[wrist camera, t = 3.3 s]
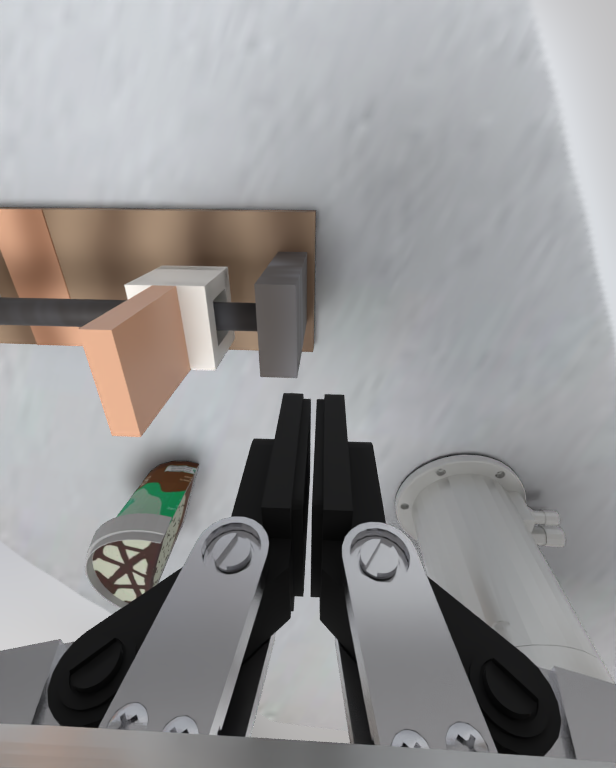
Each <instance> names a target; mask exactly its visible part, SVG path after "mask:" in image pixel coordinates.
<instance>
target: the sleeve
mask: <svg viewBox="0 0 616 768" xmlns="http://www.w3.org/2000/svg"><path fill="white" fill-rule="evenodd" d="M124 286H125V290H126V294H127V299H128V300H126V301H125V302H123V303H121V304H120V305H118V306H116V307H115V308H113V309H111V310H109V311H108V312H106V313H104V314H103V315H101V316H99V317H98V318H96V319H94V320H93V321H91V322H89V323H87V324H86V325H84V326H82V327H81V328H79V329H78V332H79V335H80V338H81V341H82V344H83V347H84V350H85V353H86V357H87V360H88V363H89V366H90V369H91V372H92V375H93V378H94V381H95V384H96V387H97V391H98V394H99V397H100V400H101V403H102V406H103V409H104V412H105V415H106V418H107V421H108V425H109V428H110V431H111V434H112V436H131V437H141V436H142V435H143V433H144V432H145V431H146V429H147V428H148V427H149V425H150V424H151V423H152V421H153V420H154V418H155V417H156V416H157V414H158V413H159V412H160V410H161V409H162V408H163V406H164V405H165V404H166V402H167V401H168V400H169V398H170V397H171V395H172V394H173V393H174V391H175V390H176V389H177V387H178V386H179V385H180V383H181V382H182V381H183V379H184V378H185V377H186V375H187V374H188V373H189V371H190V370H216V369H217V367H218V366H219V364H220V362H221V361H222V359H223V358H224V356H225V354H226V353H227V351H228V349H229V348H230V346H231V344H232V343H233V341H234V339H235V334H234V331H221V330H216V323H215V315H214V307H213V302H231V294H230V284H229V274H228V267H216V266H160V267H158V268H156V269H154V270H152V271H150V272H148V273H146V274H145V275H143V276H141V277H139V278H137V279H135V280H133V281H131V282H129V283H127V284H125V285H124Z"/></svg>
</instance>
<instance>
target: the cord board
mask: <svg viewBox="0 0 616 768" xmlns="http://www.w3.org/2000/svg"><path fill="white" fill-rule="evenodd" d="M315 228H316V210H220V209H118V208H17V207H0V343H12V344H37V345H65V346H83V344H82V341H81V338H80V335H79V332H78V329H79V328H81V327H82V326H84V325H86V324H87V323H89V322H91V321H93V320H94V319H96V318H98V317H99V316H101V315H103V314H104V313H106V312H108V311H109V310H111V309H113V308H115V307H116V306H118V305H120V304H121V303H123V302H125V301H126V300H128V299H127V294H126V290H125V286H124V285H125V284H127V283H129V282H131V281H133V280H135V279H137V278H139V277H141V276H143V275H145V274H146V273H148V272H150V271H152V270H154V269H156V268H158V267H160V266H216V267H228V274H229V284H230V294H231V302H213V307H214V315H215V323H216V330H221V331H234V334H235V339H234V341H233V343H232V344H231V346H230V348H229V349H228V350H259V363H260V377H282V378H297V376H298V370H299V364H300V358H301V353H302V352H313V348H314V299H315Z"/></svg>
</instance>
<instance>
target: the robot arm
mask: <svg viewBox="0 0 616 768" xmlns="http://www.w3.org/2000/svg"><path fill="white" fill-rule="evenodd" d="M310 429H311V399H304V397H303V394H295V393H284V394H283V399H282V404H281V409H280V414H279V419H278V424H277V430H276V435H275V439H253V441H252V444H251V447H250V451H249V455H248V458H247V462H246V465H245V469H244V473H243V476H242V480H241V483H240V487H239V491H238V494H237V498H236V501H235V505H234V509H233V512H232V516H231V517H229V518H224V519H221V520H219V521H217V522H215V523H213V524H212V525H210V526H209V527H208V528H207V529H206V530H204V531H203V533H202V534H201V535H200V537H199V538H198V540H197V541H196V543H195V545H194V547H193V549H192V551H191V552H190V554H189V556H188V558H187V560H186V562H185V564H184V566H183V567H182V568H181V569H179V570H178V571H176V572H175V573H173V574H172V575H170V576H169V577H167V578H166V579H164V580H163V581H161V582H160V583H158V584H157V585H155V586H154V587H152V588H151V589H149V590H148V591H146V592H145V593H143V594H142V595H140V596H139V597H137V598H136V599H134V600H133V601H132V602H130V603H129V604H127V605H126V606H124V607H123V608H121V609H120V610H118V611H117V612H115V613H114V614H112V615H111V616H109V617H108V618H106V619H105V620H103V621H102V622H100V623H99V624H97V625H96V626H95V627H93V628H91V629H90V630H88V631H87V632H86V633H85V634H83V635H82V636H81V637H80V638H78V639H77V640H76V641H75V642H71V643H65V644H64V643H63V642H62V640H61V639H59V640H53V641H49V642H44V643H38V644H33V645H28V646H23V647H18V648H13V649H8V650H3V651H0V768H616V684H615V682H614V681H613V679H612V677H611V675H610V674H609V672H608V670H607V668H606V667H605V665H604V663H603V661H602V660H601V658H600V656H599V654H598V653H597V651H596V649H595V647H594V645H593V644H592V642H591V640H590V638H589V636H588V635H587V633H586V631H585V629H584V628H583V626H582V624H581V622H580V620H579V619H578V617H577V615H576V613H575V612H574V610H573V608H572V606H571V604H570V603H569V601H568V599H567V597H566V596H565V594H564V592H563V590H562V588H561V587H560V585H559V583H558V581H557V580H556V578H555V576H554V574H553V572H552V571H551V569H550V567H549V565H548V564H547V562H546V560H545V558H544V556H543V555H542V553H541V551H540V549H539V548H538V546H537V545H541V546H547V547H564V545H565V542H566V538H565V534H564V532H563V530H562V529H561V528H560V527H559V526H558V525H559V523H560V517H559V514H558V513H557V512H556V511H552V510H539V511H536V510H532V509H531V508H530V507H527V505H526V492H525V489H524V487H523V484H522V483H521V481H520V479H519V478H518V476H517V475H516V474H515V473H514V472H513V471H512V470H511V469H510V468H509V467H508V466H506V465H505V464H503V463H502V462H500V461H497V460H495V459H492V458H489V457H484V456H479V455H457V456H450V457H445V458H441V459H438V460H435V461H433V462H430V463H428V464H426V465H424V466H422V467H421V468H419V469H417V470H416V471H415V472H413V473H412V474H411V475H410V476H409V477H408V478H407V479H406V480H405V481H404V482H403V484H402V485H401V487H400V489H399V490H398V492H397V496H396V500H395V510H396V515H397V520H398V522H399V524H400V526H401V527H402V529H403V530H404V531H405V532H406V533H407V534H408V535H409V536H410V537H412V538H413V539H415V540H416V541H418V542H419V546H420V550H421V554H422V558H423V562H424V567H425V570H424V568H423V565H422V563H421V560H420V558H419V555H418V553H417V550H416V548H415V547H414V545H413V543H412V542H411V540H410V539H409V538H408V537H407V536H406V535H405V534H404V533H403V532H402V531H400V530H398V529H397V528H395V527H393V526H391V525H388V524H386V521H385V515H384V510H383V504H382V498H381V492H380V486H379V480H378V474H377V468H376V462H375V456H374V450H373V445H372V443H371V442H348V439H347V426H346V413H345V400H344V395H331V394H325V398H324V399H317V407H316V429H315V451H314V474H313V496H312V538H311V597H320V620H321V621H322V623H323V624H324V625H325V626H326V627H327V628H328V629H329V631H330V632H331V633H332V634H333V635H334V636H335V646H336V653H337V660H338V666H339V673H340V680H341V686H342V693H343V700H344V706H345V713H346V720H347V726H348V733H349V739H350V744H347V743H346V744H345V743H332V742H316V741H300V740H285V739H269V738H251V734H252V729H253V726H254V722H255V718H256V714H257V710H258V706H259V701H260V697H261V693H262V689H263V685H264V681H265V677H266V673H267V669H268V665H269V661H270V657H271V653H272V649H273V645H274V641H275V633H276V631H277V630H278V629H279V628H281V627H282V626H283V625H284V624H285V623H286V622H287V621H288V620H289V619H290V617H291V611H293V610H294V597H295V596H302V597H303V593H304V576H305V558H306V540H307V522H308V504H309V486H310ZM535 524H541V525H538V526H534V525H535ZM546 525H550V526H546ZM425 571H426V573H425Z"/></svg>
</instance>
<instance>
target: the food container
mask: <svg viewBox="0 0 616 768" xmlns="http://www.w3.org/2000/svg"><path fill="white" fill-rule="evenodd" d="M198 467H199V464H198V463H194V462H189V461H171V462H168V463H164V464H160V465H159V466H157V467H156V468H154V469H153V470H151V472H150V473H149V474H148V476H147V477H146V478H145V480H144V481H143V482H142V484H141V485H140V486H139V488H138V489H137V490H136V492H135V493H134V494H133V496H132V497H131V498H130V500H129V501H128V502H127V504H126V505H125V506H124V508H123V509H122V510H121V512H120V513H119V514H118V516H117V517H116V518H113V519H111V520H109V521H107V522H106V523H104V524H103V525H101V526H100V527H99V529H98V530H97V531H96V533H95V535H94V536H93V539H92V542H91V544H90V547H89V549H88V552H87V556H86V564H85V573H86V576H87V579H88V581H89V582H90V584H91V586H92V587H93V588H94V589H95V591H96V592H97V593H98V594H100V595H101V596H102V597H103V598H104V599H106V600H107V601H108V602H110V603H112V604H113V605H115V606H117V607H119V608H123V607H124V606H126V605H127V604H129V603H130V602H132V601H133V600H134V599H136V598H137V597H139V596H140V595H142V594H143V593H145V592H146V591H148V590H149V589H151V588H152V587H154V586H155V585H157V584H158V583H159V580H160V578H161V575H162V573H163V571H164V568H165V566H166V563H167V561H168V559H169V556H170V554H171V551H172V549H173V547H174V544H175V542H176V540H177V537H178V535H179V532H180V530H181V528H182V525H183V523H184V520H185V516H186V512H187V508H188V505H189V501H190V497H191V493H192V489H193V486H194V482H195V478H196V474H197V470H198Z"/></svg>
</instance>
